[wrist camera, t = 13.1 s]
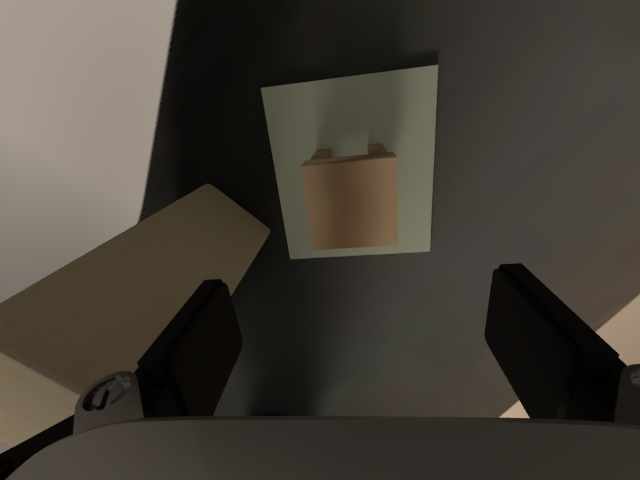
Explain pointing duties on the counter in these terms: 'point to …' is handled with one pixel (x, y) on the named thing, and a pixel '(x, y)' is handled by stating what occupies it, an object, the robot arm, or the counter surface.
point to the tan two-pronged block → (352, 199)
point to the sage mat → (356, 145)
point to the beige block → (114, 305)
